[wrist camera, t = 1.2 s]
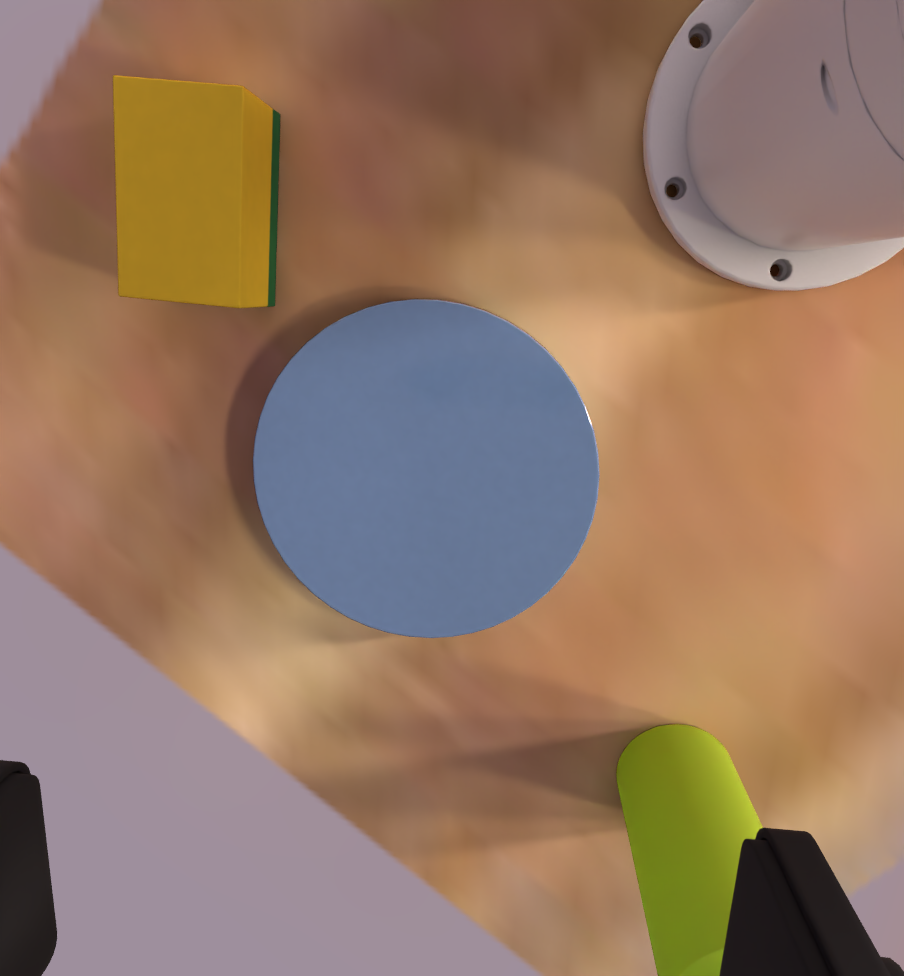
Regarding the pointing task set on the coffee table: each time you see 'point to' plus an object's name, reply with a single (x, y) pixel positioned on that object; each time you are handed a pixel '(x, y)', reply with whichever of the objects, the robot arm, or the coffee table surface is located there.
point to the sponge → (195, 192)
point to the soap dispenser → (684, 842)
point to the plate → (426, 468)
